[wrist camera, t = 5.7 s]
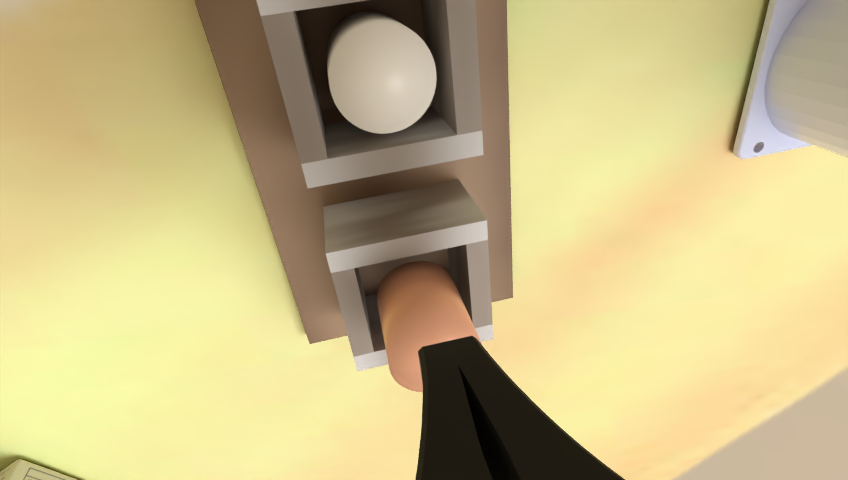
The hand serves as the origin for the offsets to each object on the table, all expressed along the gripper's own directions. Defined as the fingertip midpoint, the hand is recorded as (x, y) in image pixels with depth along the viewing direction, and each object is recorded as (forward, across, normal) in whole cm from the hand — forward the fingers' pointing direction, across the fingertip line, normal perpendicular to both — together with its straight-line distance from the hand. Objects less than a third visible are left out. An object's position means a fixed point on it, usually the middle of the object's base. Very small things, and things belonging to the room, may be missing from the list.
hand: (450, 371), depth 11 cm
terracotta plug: (+6, 0, +2) cm, 7 cm away
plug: (+9, 0, -6) cm, 11 cm away
